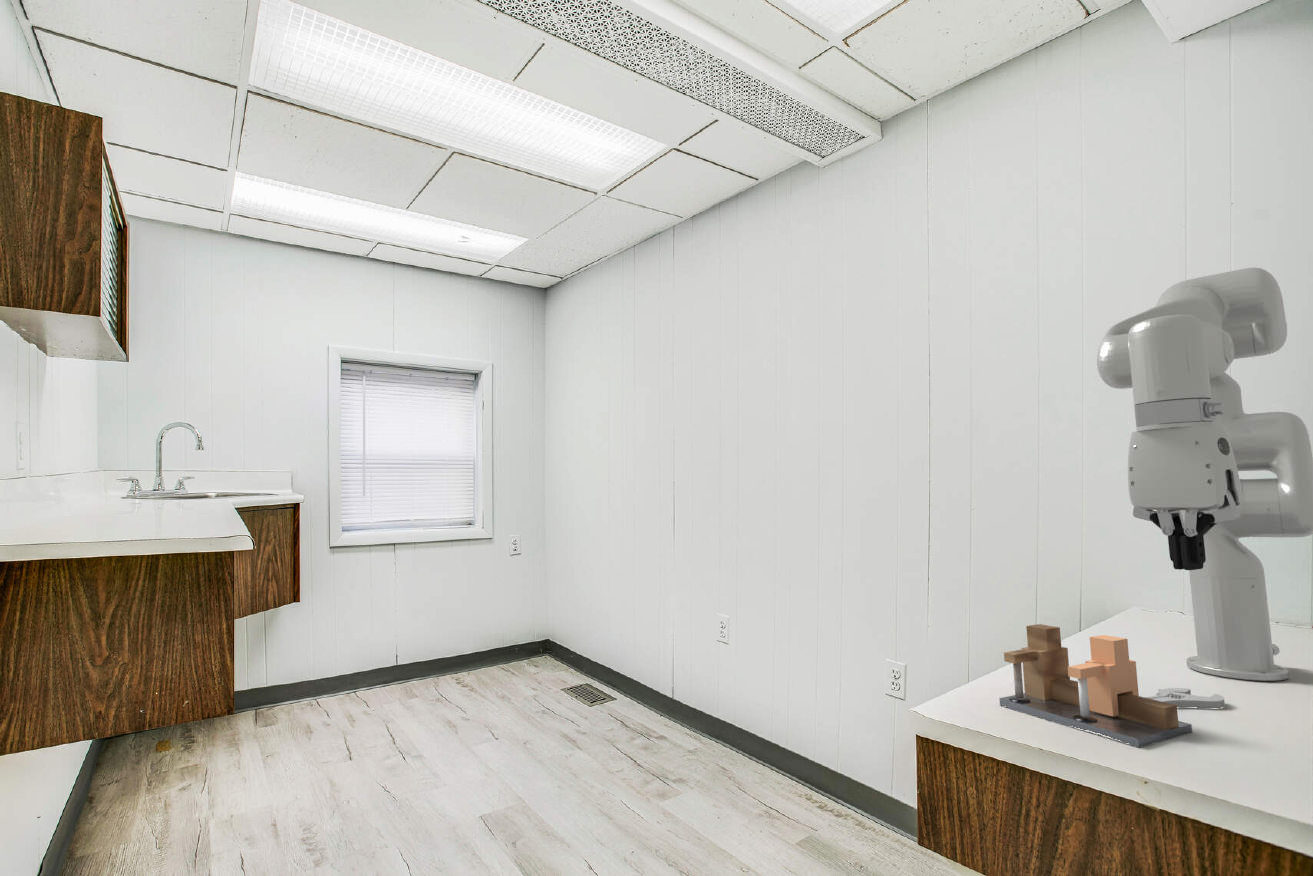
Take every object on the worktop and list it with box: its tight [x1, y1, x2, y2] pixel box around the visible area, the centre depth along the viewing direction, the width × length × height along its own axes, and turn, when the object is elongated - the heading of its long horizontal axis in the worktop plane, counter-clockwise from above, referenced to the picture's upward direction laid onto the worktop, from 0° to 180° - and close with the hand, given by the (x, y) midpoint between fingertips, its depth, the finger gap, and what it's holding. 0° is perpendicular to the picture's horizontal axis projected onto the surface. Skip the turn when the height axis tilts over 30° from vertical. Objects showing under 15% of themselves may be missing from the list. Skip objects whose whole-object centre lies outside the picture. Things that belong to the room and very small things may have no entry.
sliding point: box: [1068, 634, 1140, 717], centre depth 84 cm, size 10×3×9 cm, turn 115°
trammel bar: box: [1003, 623, 1179, 730], centre depth 86 cm, size 10×18×10 cm, turn 25°
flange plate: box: [998, 692, 1193, 749], centre depth 86 cm, size 11×18×1 cm, turn 25°
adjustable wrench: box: [1144, 687, 1226, 708], centre depth 90 cm, size 25×6×2 cm, turn 100°
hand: (1188, 568), depth 78 cm, fingers closed
